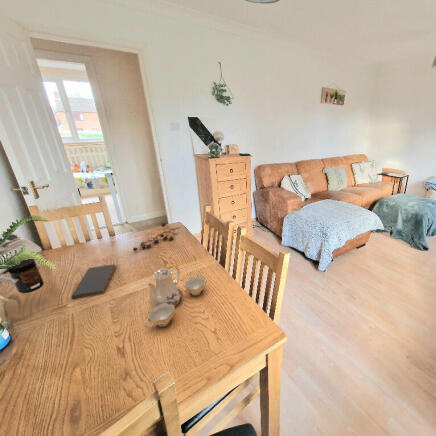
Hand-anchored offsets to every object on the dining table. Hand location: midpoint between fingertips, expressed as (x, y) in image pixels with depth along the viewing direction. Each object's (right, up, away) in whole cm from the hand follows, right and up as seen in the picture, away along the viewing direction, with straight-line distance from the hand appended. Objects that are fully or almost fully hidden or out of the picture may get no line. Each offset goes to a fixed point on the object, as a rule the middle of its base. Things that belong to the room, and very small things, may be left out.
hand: (28, 275), depth 84 cm
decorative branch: (+16, +6, +56) cm, 58 cm away
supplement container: (-1, -5, +2) cm, 6 cm away
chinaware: (+47, -14, +10) cm, 50 cm away
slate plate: (+7, -7, +20) cm, 23 cm away
